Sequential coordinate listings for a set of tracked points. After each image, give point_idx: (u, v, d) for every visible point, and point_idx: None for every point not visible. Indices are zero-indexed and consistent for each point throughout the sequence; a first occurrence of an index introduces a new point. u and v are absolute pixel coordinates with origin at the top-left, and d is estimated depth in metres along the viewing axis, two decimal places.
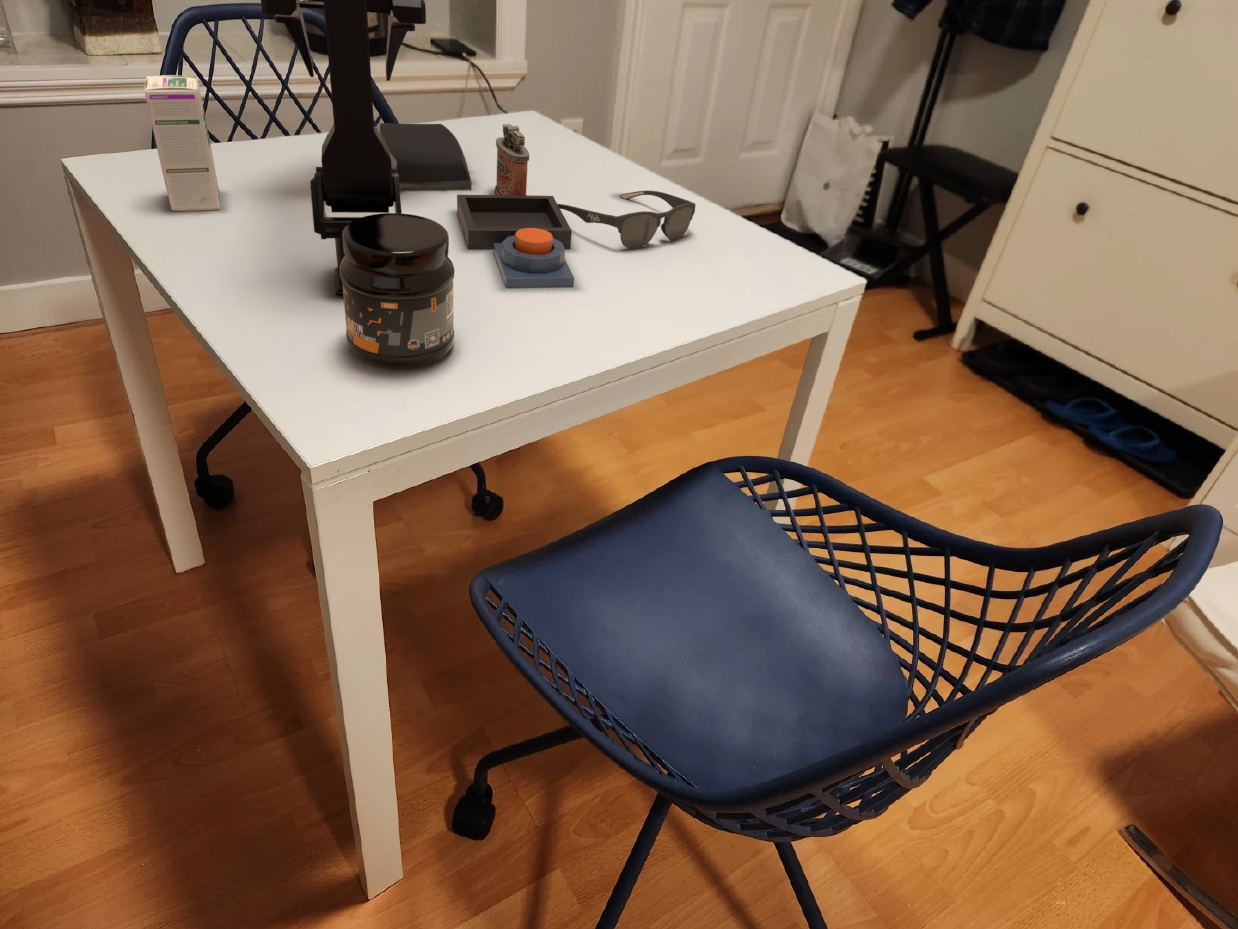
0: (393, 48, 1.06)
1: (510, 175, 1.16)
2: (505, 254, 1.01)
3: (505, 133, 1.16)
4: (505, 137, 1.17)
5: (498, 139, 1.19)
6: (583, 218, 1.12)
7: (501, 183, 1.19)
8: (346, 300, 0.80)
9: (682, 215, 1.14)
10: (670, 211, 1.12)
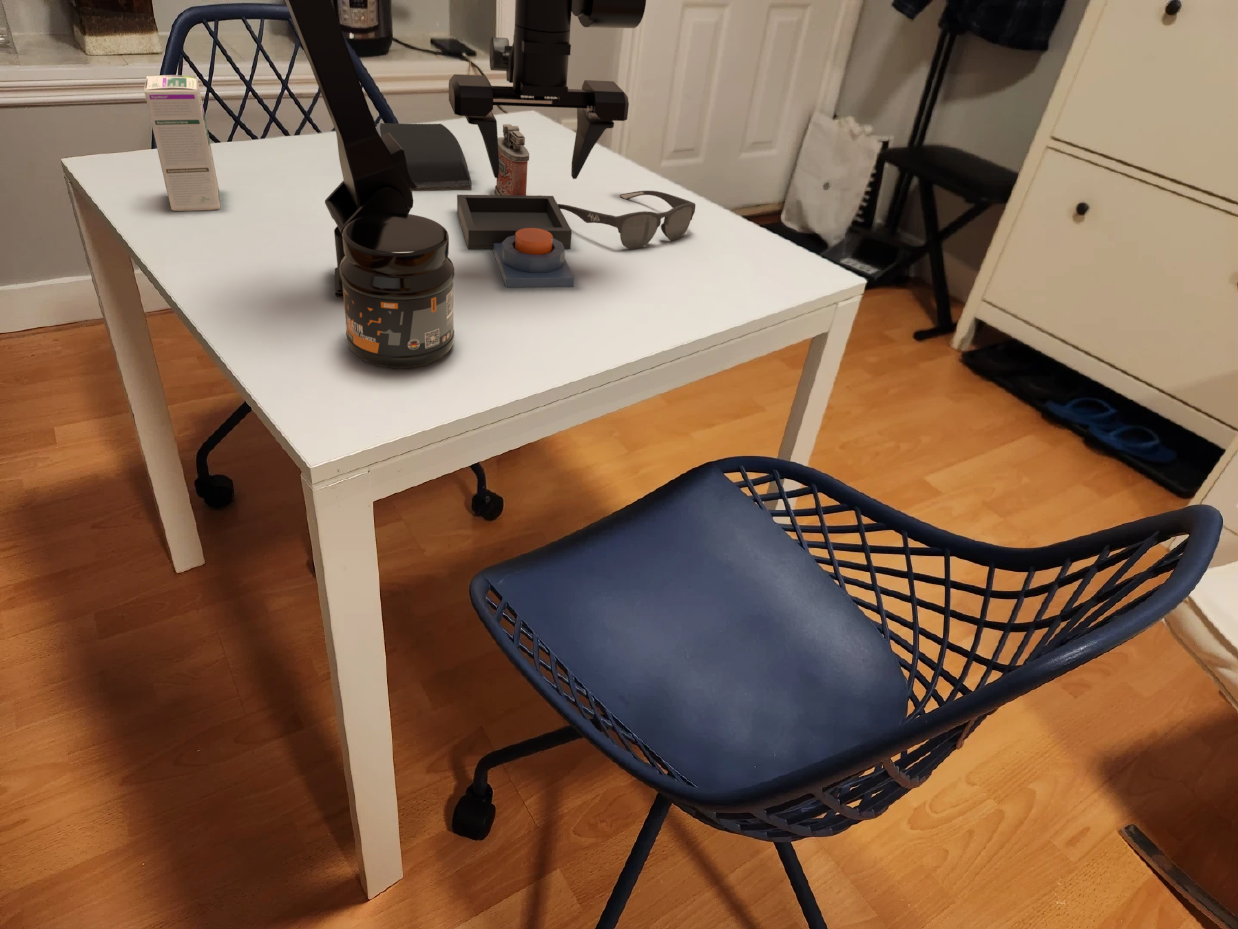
0: (586, 146, 0.95)
1: (510, 175, 1.16)
2: (505, 254, 1.01)
3: (505, 133, 1.16)
4: (505, 137, 1.17)
5: (498, 139, 1.19)
6: (583, 218, 1.12)
7: (501, 183, 1.19)
8: (346, 300, 0.80)
9: (682, 215, 1.14)
10: (670, 211, 1.12)
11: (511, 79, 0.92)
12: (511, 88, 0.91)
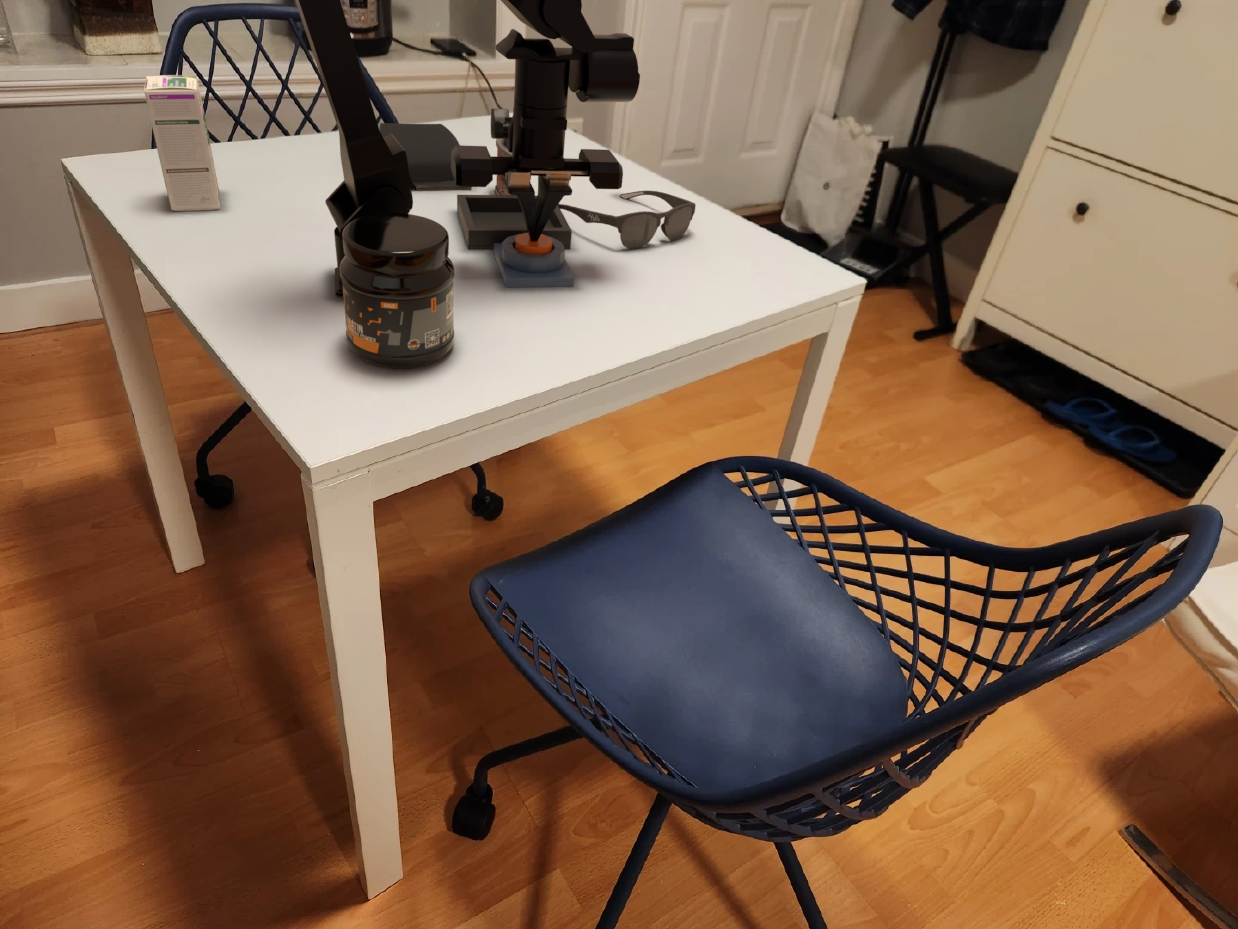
0: (546, 212, 0.98)
1: None
2: (505, 254, 1.01)
3: None
4: None
5: (498, 139, 1.19)
6: (583, 218, 1.12)
7: (501, 183, 1.19)
8: (346, 300, 0.80)
9: (682, 215, 1.14)
10: (670, 211, 1.12)
11: (510, 149, 0.97)
12: (510, 159, 0.95)
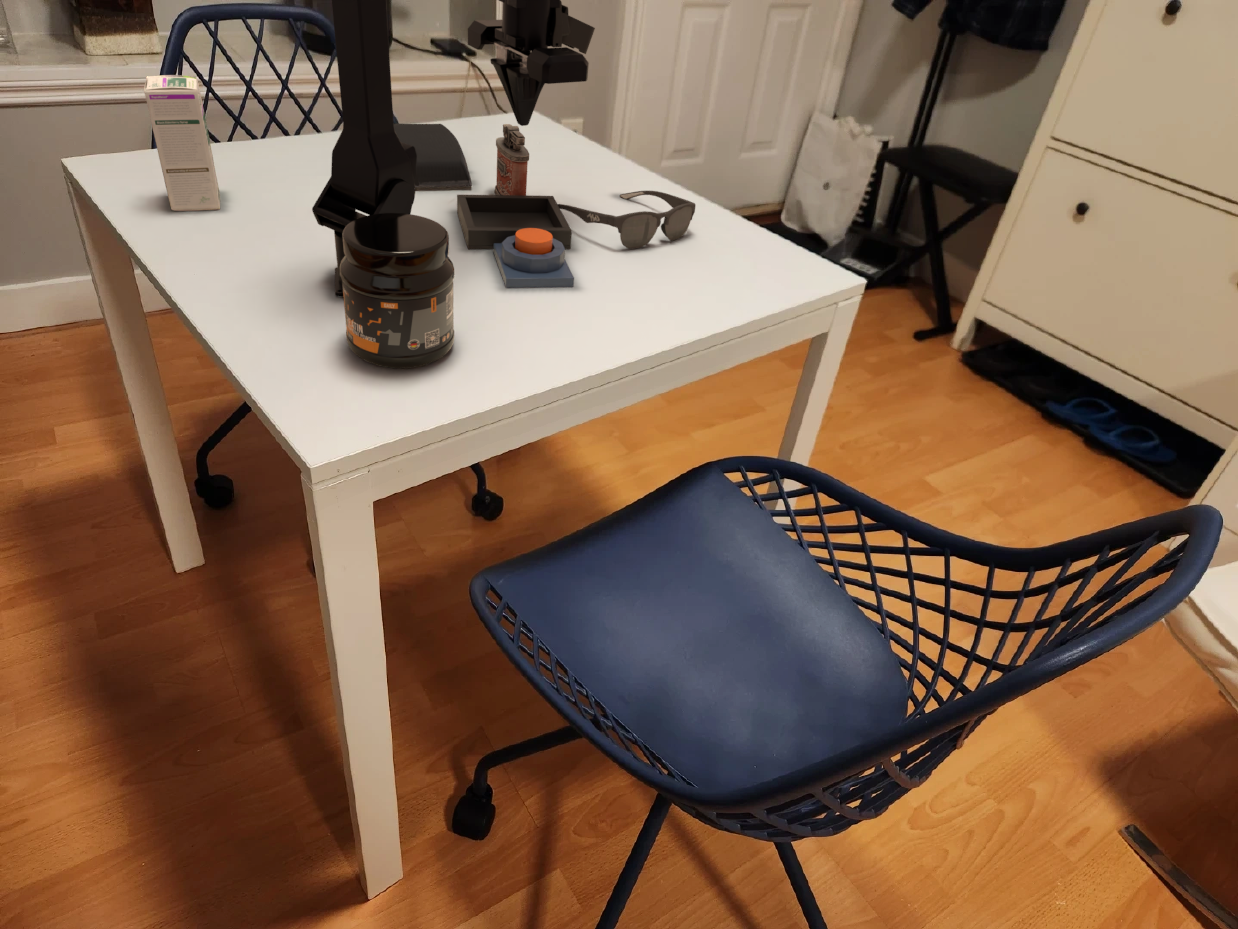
0: (514, 92, 1.03)
1: (510, 175, 1.16)
2: (505, 254, 1.01)
3: (505, 133, 1.16)
4: (505, 137, 1.17)
5: (498, 139, 1.19)
6: (583, 218, 1.12)
7: (501, 183, 1.19)
8: (346, 300, 0.80)
9: (682, 215, 1.14)
10: (670, 211, 1.12)
11: None
12: None
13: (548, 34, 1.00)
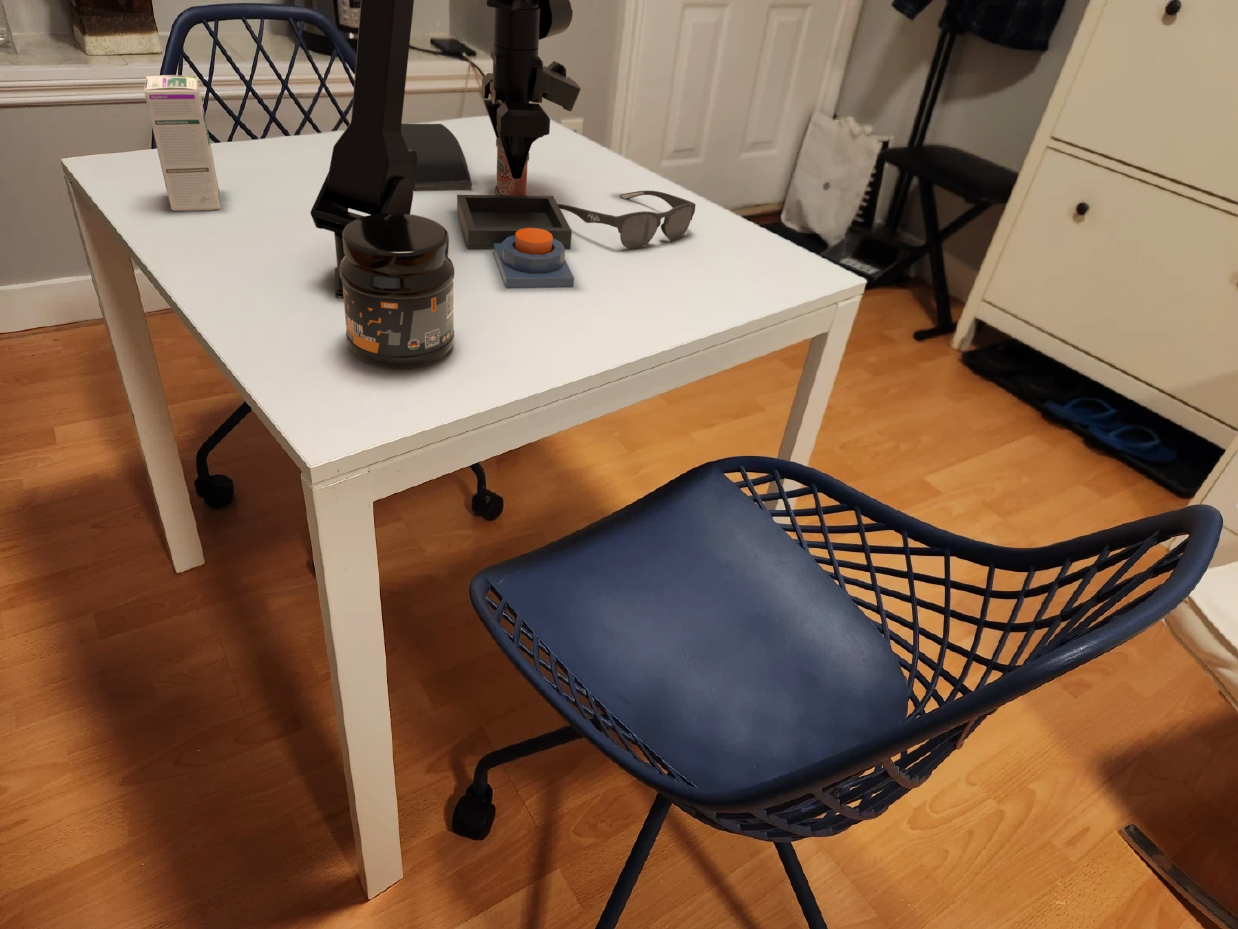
0: (504, 148, 1.12)
1: (510, 175, 1.16)
2: (505, 254, 1.01)
3: None
4: None
5: (498, 139, 1.19)
6: (583, 218, 1.12)
7: (501, 183, 1.19)
8: (346, 300, 0.80)
9: (682, 215, 1.14)
10: (670, 211, 1.12)
11: None
12: None
13: (529, 90, 1.11)
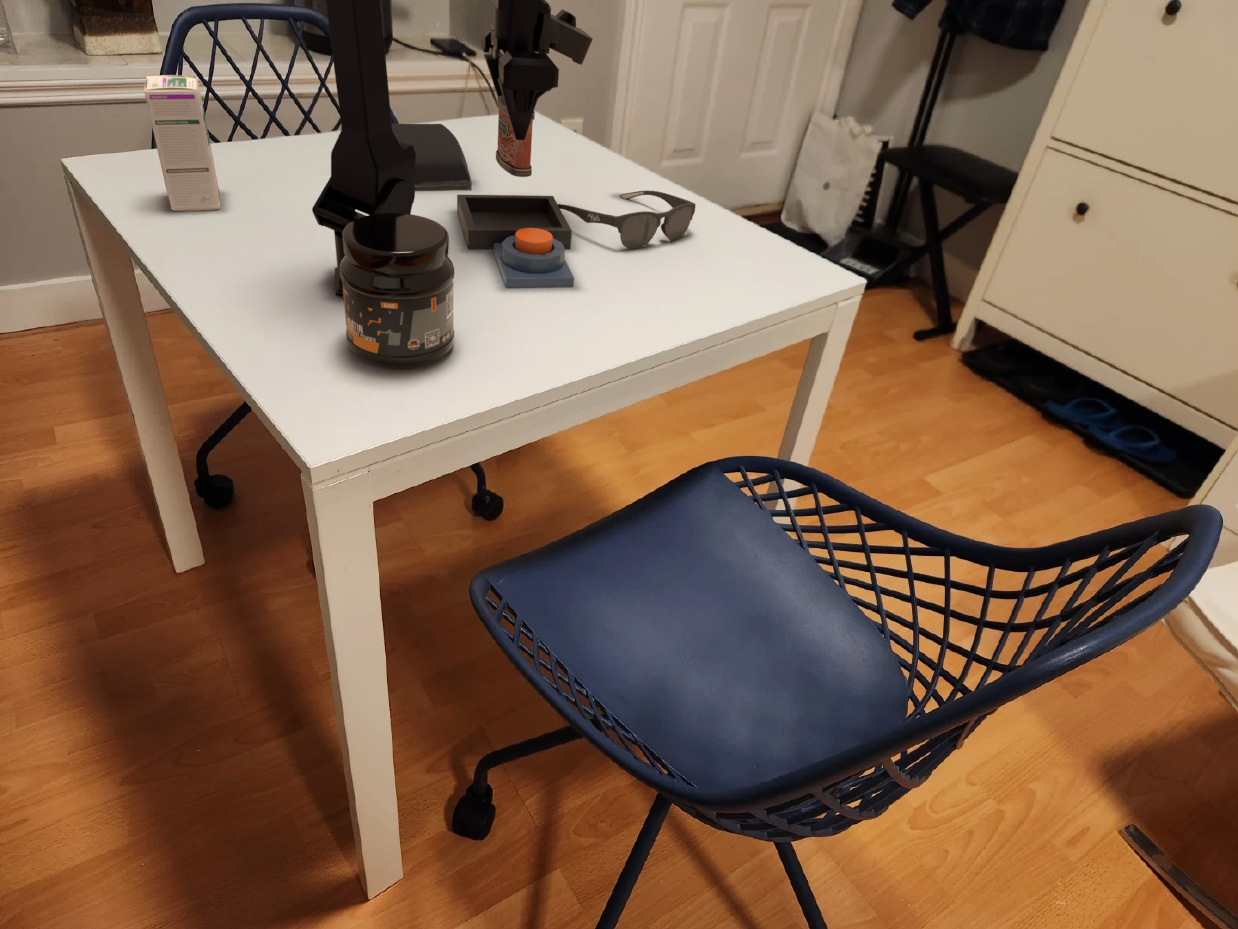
0: None
1: (514, 136, 1.04)
2: (505, 254, 1.01)
3: None
4: None
5: (500, 97, 1.07)
6: (583, 218, 1.12)
7: (502, 147, 1.07)
8: (346, 300, 0.80)
9: (682, 215, 1.14)
10: (670, 211, 1.12)
11: None
12: None
13: (535, 39, 0.99)
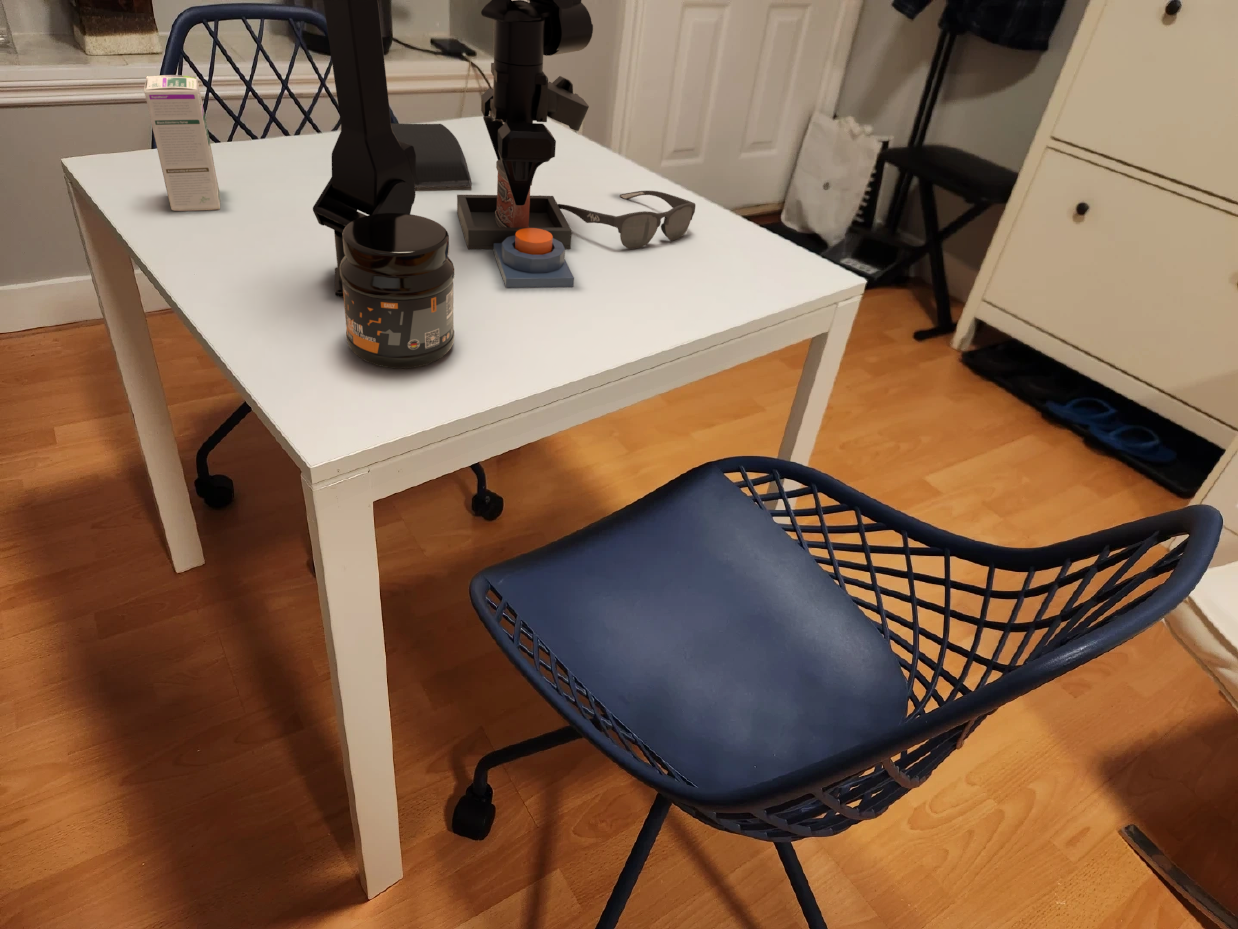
0: (506, 173, 1.03)
1: (512, 201, 1.07)
2: (505, 254, 1.01)
3: None
4: None
5: (499, 161, 1.10)
6: (583, 218, 1.12)
7: (501, 209, 1.10)
8: (346, 300, 0.80)
9: (682, 215, 1.14)
10: (670, 211, 1.12)
11: None
12: None
13: (533, 109, 1.02)
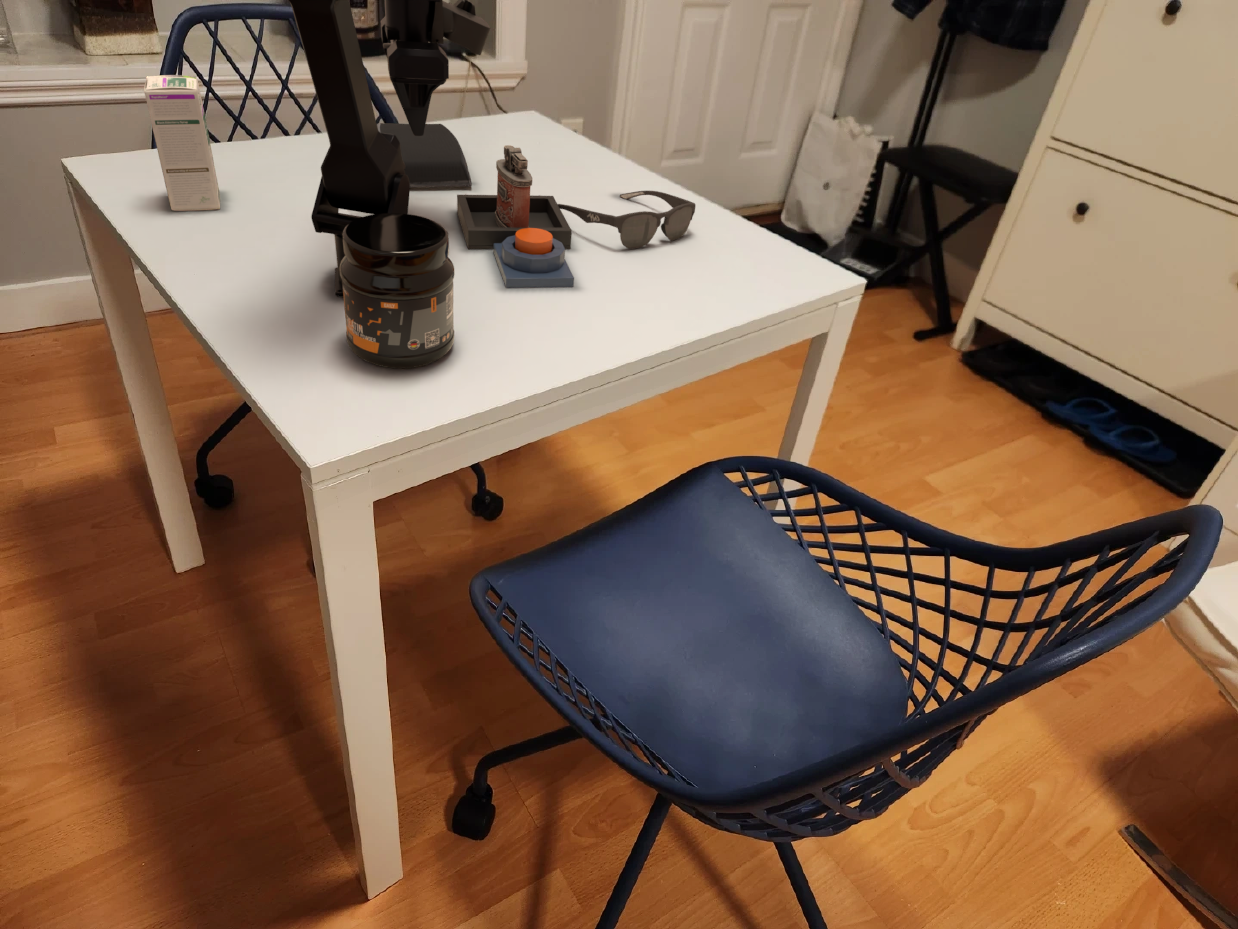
0: None
1: (512, 201, 1.07)
2: (505, 254, 1.01)
3: (506, 155, 1.07)
4: (506, 160, 1.08)
5: (499, 161, 1.10)
6: (583, 218, 1.12)
7: (501, 209, 1.10)
8: (346, 300, 0.80)
9: (682, 215, 1.14)
10: (670, 211, 1.12)
11: None
12: None
13: (427, 29, 0.95)
